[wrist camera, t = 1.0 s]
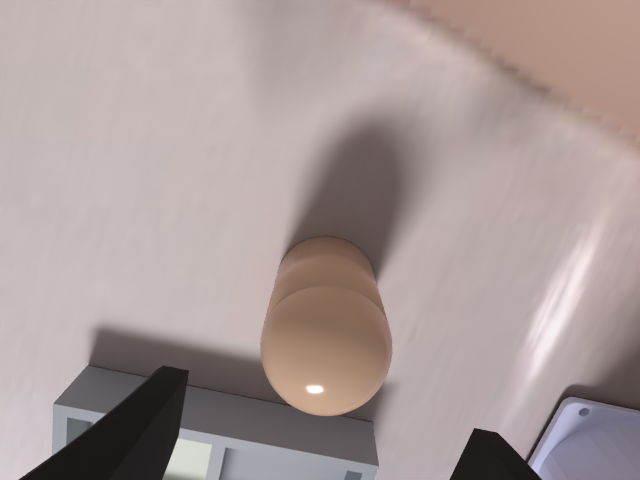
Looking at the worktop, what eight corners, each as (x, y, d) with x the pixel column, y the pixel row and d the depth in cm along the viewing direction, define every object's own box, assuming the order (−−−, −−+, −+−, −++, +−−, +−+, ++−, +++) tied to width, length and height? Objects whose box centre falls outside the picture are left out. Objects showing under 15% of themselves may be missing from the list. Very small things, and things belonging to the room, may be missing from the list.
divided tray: (372, 422, 20) (378, 466, 18) (335, 522, 23) (337, 572, 20) (87, 365, 19) (53, 403, 17) (81, 476, 22) (50, 524, 19)
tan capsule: (385, 248, 17) (425, 342, 11) (359, 332, 19) (378, 460, 12) (287, 226, 17) (265, 307, 10) (268, 313, 18) (237, 433, 12)
